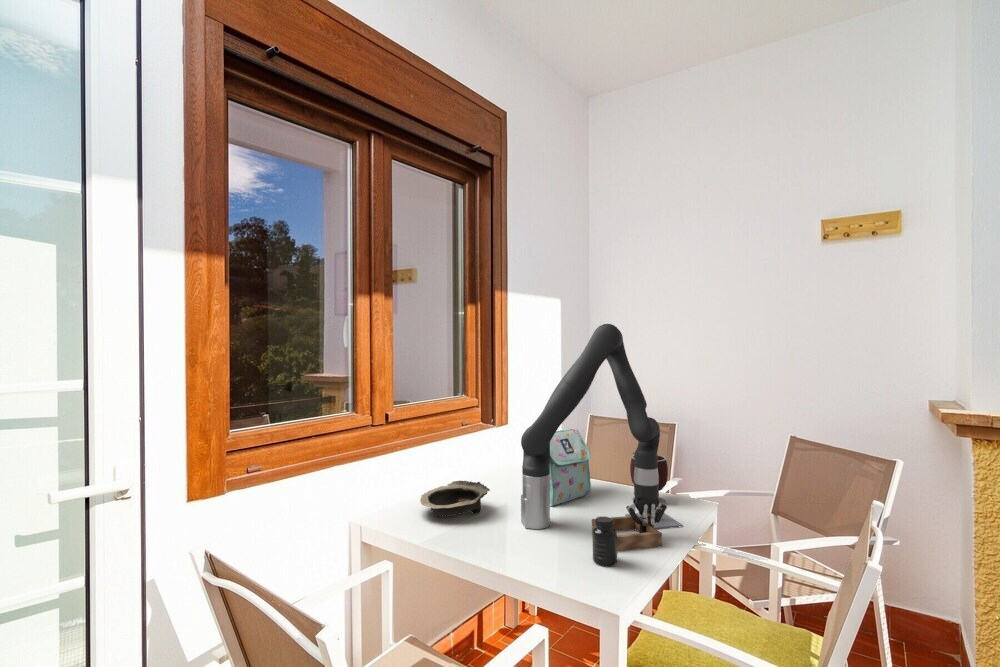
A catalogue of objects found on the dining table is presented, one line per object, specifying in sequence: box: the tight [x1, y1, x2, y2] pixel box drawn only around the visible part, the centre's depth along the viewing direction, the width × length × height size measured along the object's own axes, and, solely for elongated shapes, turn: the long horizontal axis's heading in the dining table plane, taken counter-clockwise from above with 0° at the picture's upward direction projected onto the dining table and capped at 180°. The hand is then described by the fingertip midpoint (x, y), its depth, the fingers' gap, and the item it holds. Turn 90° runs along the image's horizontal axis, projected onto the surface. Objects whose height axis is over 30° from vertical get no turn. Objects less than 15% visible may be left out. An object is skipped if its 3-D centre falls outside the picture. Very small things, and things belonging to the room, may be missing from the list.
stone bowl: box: [419, 480, 491, 518], centre depth 186 cm, size 25×25×9 cm
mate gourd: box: [629, 452, 669, 505], centre depth 196 cm, size 16×14×20 cm
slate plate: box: [625, 512, 684, 530], centre depth 176 cm, size 14×14×1 cm
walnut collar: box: [591, 516, 663, 552], centre depth 161 cm, size 16×16×4 cm
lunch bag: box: [549, 428, 592, 507], centre depth 202 cm, size 23×16×27 cm
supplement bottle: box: [591, 516, 618, 567], centre depth 144 cm, size 7×7×12 cm
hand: (646, 535), depth 162 cm, fingers closed on walnut collar, 1 cm apart
